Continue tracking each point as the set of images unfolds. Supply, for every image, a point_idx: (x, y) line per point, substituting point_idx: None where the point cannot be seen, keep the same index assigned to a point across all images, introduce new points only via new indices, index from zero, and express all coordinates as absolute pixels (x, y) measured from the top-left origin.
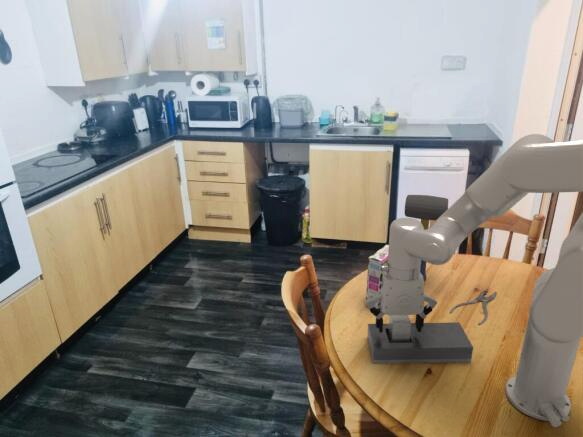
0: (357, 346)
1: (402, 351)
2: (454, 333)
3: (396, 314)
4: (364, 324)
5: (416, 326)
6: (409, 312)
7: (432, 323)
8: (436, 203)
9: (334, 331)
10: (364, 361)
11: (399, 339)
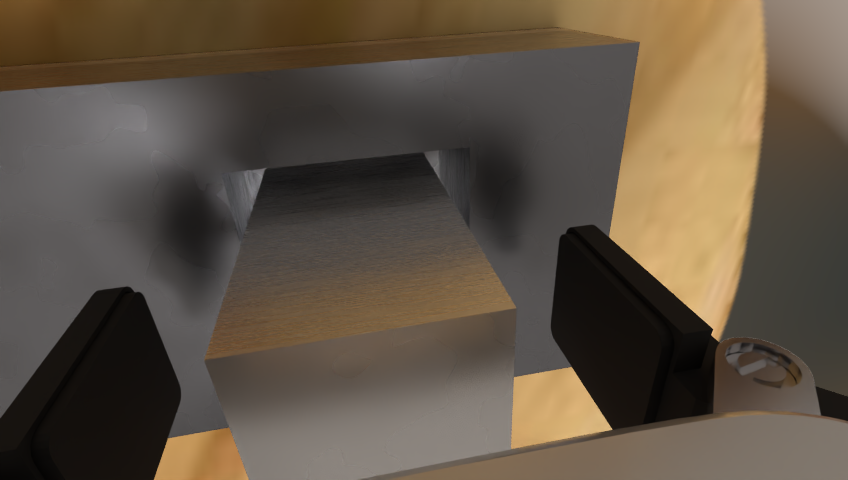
0: (616, 203)
1: (337, 58)
2: None
3: (580, 452)
4: (527, 390)
5: (160, 363)
6: None
7: None
8: None
9: (705, 314)
10: None
11: (364, 193)
